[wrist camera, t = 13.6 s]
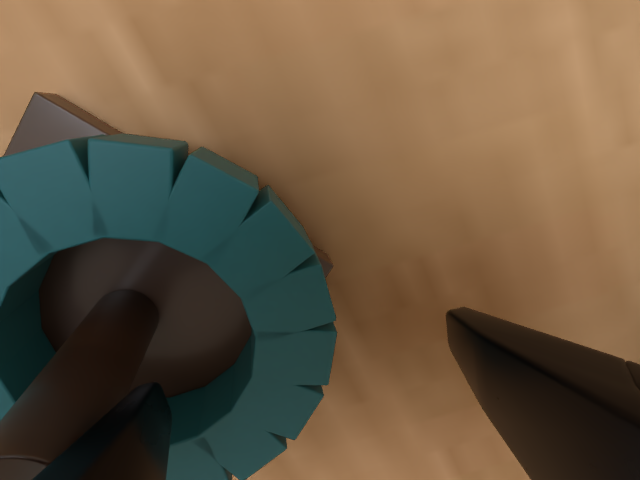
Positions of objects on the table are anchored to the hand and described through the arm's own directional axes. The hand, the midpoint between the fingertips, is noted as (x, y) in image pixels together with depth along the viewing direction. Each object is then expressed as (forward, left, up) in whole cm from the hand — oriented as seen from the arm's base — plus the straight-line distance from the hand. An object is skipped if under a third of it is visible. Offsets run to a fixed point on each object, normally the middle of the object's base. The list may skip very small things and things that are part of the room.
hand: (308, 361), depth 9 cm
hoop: (+3, +3, -5) cm, 7 cm away
